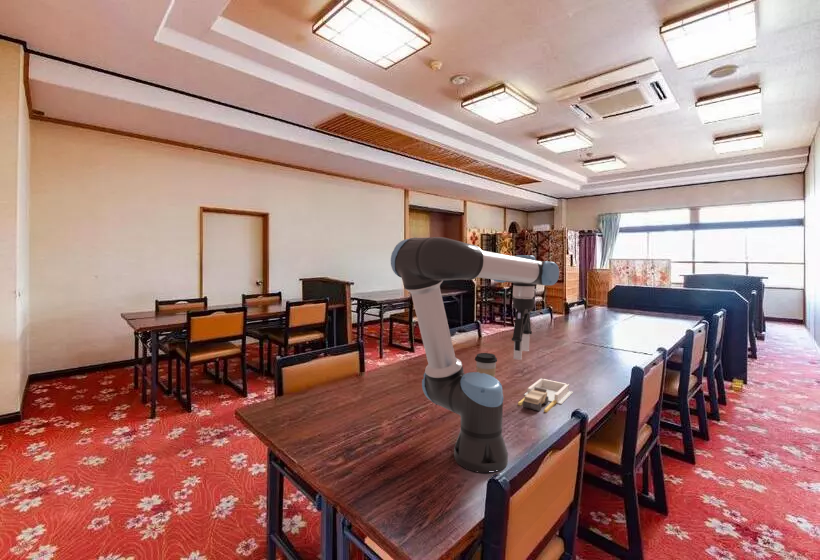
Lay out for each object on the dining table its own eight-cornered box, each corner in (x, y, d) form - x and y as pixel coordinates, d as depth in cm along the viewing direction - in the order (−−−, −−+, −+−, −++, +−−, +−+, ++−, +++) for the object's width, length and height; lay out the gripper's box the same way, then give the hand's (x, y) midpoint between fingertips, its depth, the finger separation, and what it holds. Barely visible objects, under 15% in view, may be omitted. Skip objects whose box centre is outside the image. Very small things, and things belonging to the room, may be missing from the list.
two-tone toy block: (538, 412, 139) (538, 397, 138) (522, 408, 142) (523, 394, 142) (548, 403, 147) (548, 389, 147) (533, 399, 151) (533, 386, 151)
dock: (552, 414, 137) (552, 404, 137) (513, 403, 146) (513, 395, 146) (572, 392, 158) (573, 384, 158) (537, 384, 167) (537, 377, 167)
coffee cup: (496, 394, 156) (497, 359, 155) (473, 392, 158) (474, 357, 157) (496, 386, 165) (497, 353, 164) (474, 384, 167) (475, 351, 166)
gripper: (527, 301, 124) (525, 364, 125) (539, 295, 146) (537, 349, 147) (504, 300, 128) (502, 361, 129) (520, 294, 150) (518, 346, 151)
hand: (521, 354), depth 138 cm, fingers open, 13 cm apart
